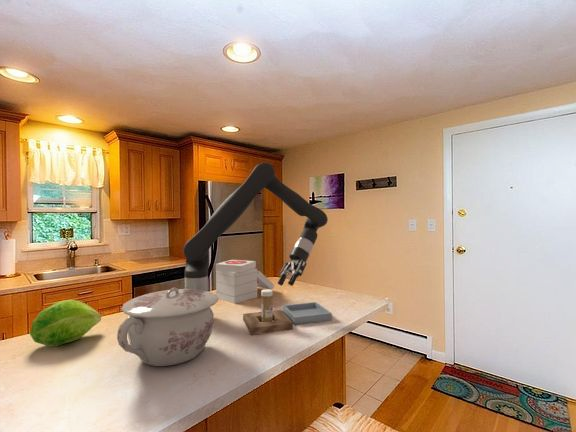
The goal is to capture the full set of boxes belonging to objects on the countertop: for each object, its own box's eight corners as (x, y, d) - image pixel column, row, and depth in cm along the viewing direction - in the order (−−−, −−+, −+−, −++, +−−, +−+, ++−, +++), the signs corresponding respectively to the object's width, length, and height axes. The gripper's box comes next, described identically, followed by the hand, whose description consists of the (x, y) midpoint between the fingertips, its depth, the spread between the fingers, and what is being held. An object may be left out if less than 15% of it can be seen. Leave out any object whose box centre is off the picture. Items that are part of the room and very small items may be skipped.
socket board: (250, 335, 106) (250, 328, 106) (243, 319, 122) (243, 313, 122) (293, 329, 111) (293, 323, 111) (280, 315, 127) (280, 309, 127)
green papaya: (110, 336, 105) (109, 298, 105) (37, 359, 89) (37, 313, 89) (92, 326, 114) (92, 291, 114) (23, 345, 98) (23, 304, 98)
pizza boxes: (277, 292, 163) (277, 259, 163) (233, 305, 140) (233, 267, 140) (253, 286, 176) (253, 256, 175) (209, 297, 153) (209, 262, 153)
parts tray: (294, 325, 116) (294, 317, 116) (282, 312, 131) (282, 305, 131) (331, 320, 121) (331, 313, 121) (315, 308, 136) (315, 301, 136)
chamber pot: (208, 331, 110) (207, 275, 110) (228, 364, 86) (228, 293, 85) (121, 346, 97) (120, 283, 97) (116, 391, 73) (116, 307, 73)
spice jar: (270, 327, 114) (270, 292, 113) (259, 326, 115) (259, 291, 115) (274, 323, 118) (274, 289, 118) (263, 321, 119) (263, 288, 119)
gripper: (286, 247, 132) (269, 279, 125) (304, 244, 120) (286, 279, 113) (299, 257, 134) (283, 289, 127) (317, 254, 122) (301, 289, 115)
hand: (284, 284), depth 120 cm, fingers open, 8 cm apart
